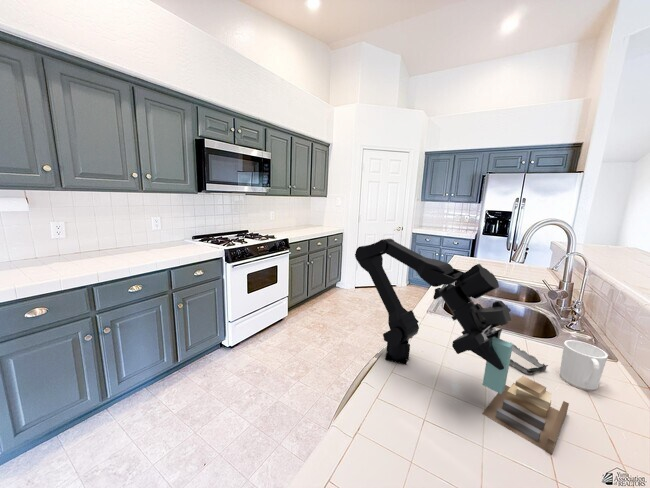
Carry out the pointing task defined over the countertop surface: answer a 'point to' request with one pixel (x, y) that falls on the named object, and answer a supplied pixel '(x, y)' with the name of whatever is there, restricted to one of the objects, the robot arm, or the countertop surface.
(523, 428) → the rack
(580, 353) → the mug
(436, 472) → the countertop surface
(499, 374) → the block
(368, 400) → the countertop surface
